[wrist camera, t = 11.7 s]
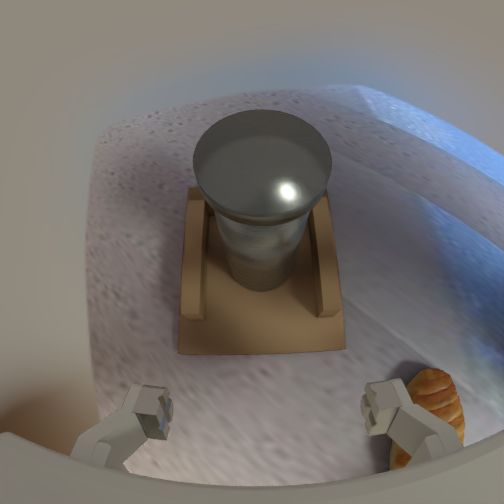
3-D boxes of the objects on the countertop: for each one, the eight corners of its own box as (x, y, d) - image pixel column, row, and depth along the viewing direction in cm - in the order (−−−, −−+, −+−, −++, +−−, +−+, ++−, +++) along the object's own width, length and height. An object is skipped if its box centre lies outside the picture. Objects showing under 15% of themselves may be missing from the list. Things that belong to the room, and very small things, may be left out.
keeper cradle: (190, 192, 27) (182, 170, 24) (323, 189, 27) (330, 166, 24) (180, 354, 21) (168, 349, 18) (342, 349, 21) (356, 344, 18)
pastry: (385, 374, 20) (407, 372, 17) (452, 362, 20) (478, 357, 17) (382, 483, 17) (402, 497, 13) (450, 463, 17) (475, 470, 13)
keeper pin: (274, 214, 25) (283, 97, 14) (313, 273, 23) (359, 177, 12) (210, 246, 24) (173, 138, 13) (245, 311, 22) (231, 239, 11)
